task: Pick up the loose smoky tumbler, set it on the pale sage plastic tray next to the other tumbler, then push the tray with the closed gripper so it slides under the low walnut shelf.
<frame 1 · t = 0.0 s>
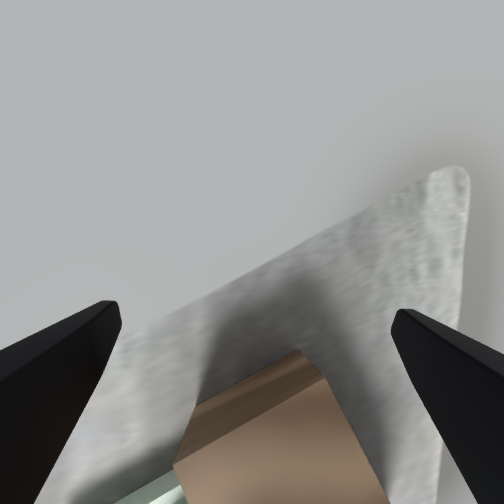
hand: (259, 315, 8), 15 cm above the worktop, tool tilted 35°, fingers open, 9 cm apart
shelf: (288, 461, 21), on the worktop
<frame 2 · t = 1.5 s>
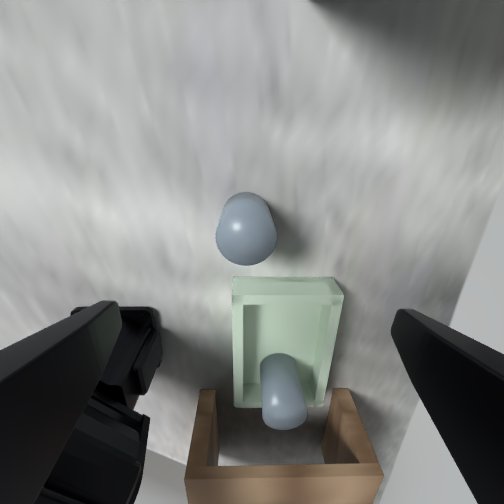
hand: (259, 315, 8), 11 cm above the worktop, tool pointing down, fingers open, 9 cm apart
tray: (278, 335, 23), on the worktop, touching tumbler a
tumbler a: (278, 366, 23), point 1 cm above the worktop, touching tray
shelf: (272, 420, 27), on the worktop
tumbler b: (246, 216, 18), on the worktop
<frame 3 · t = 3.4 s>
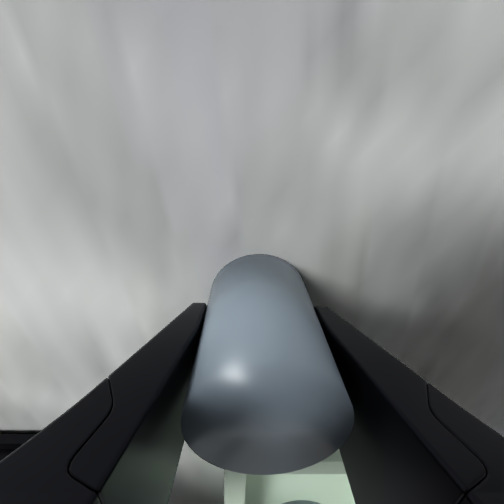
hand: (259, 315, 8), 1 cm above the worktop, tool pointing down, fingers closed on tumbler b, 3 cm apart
tray: (301, 468, 14), on the worktop, touching tumbler a
tumbler b: (258, 297, 9), on the worktop, touching gripper
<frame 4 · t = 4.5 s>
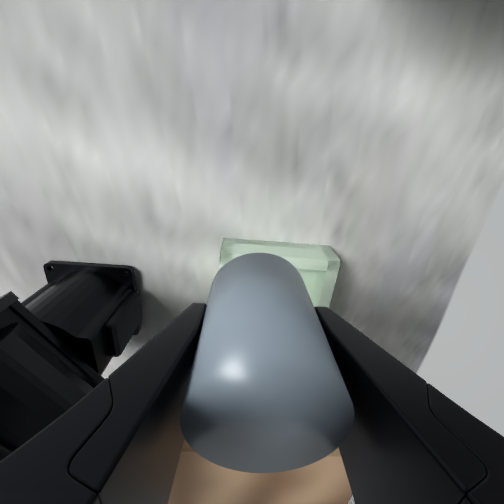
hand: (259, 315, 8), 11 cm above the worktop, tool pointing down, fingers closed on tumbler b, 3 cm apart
tray: (268, 307, 21), on the worktop, touching tumbler a
shelf: (255, 401, 26), on the worktop
tumbler b: (258, 295, 9), point 10 cm above the worktop, touching gripper
when the fingers open (3 cm above the worktop, at t = 6.0 s): tumbler b drops 2 cm, resting on tray.
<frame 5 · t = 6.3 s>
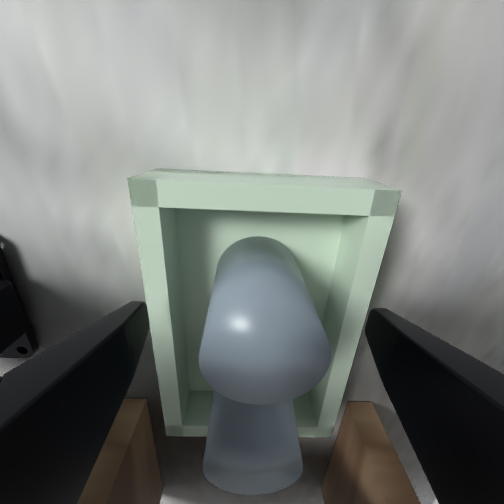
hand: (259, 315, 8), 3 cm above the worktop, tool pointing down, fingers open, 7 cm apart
tray: (254, 302, 12), on the worktop, touching tumbler a, tumbler b
tumbler a: (251, 361, 13), point 1 cm above the worktop, touching tray
shelf: (245, 449, 17), on the worktop
tumbler b: (257, 274, 11), point 1 cm above the worktop, touching tray
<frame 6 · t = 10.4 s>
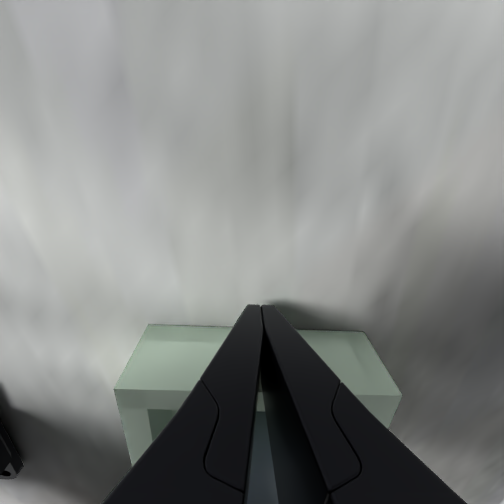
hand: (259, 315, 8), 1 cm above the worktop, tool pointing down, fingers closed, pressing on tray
tray: (249, 429, 12), on the worktop, touching gripper, tumbler a, tumbler b
tumbler b: (251, 419, 10), point 1 cm above the worktop, touching tray
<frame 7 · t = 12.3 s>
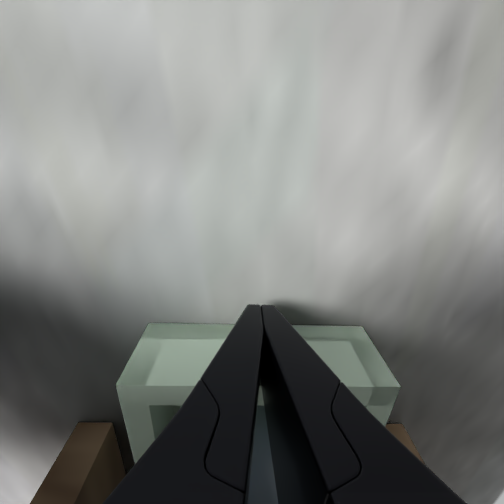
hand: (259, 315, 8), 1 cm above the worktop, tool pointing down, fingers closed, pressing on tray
tray: (250, 427, 12), on the worktop, touching gripper, tumbler a, tumbler b
shelf: (241, 482, 14), on the worktop
tumbler b: (252, 415, 10), point 1 cm above the worktop, touching tray
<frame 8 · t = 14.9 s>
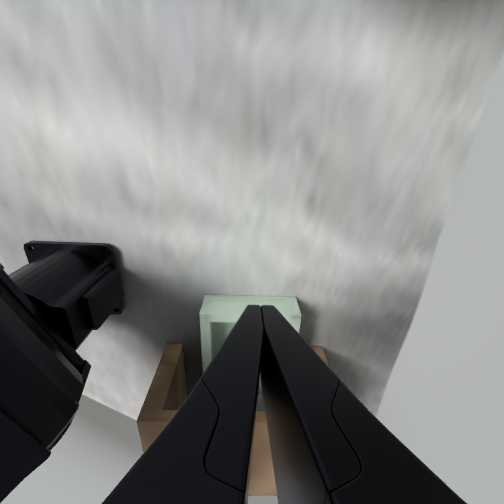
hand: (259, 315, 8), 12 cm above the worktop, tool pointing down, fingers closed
tray: (248, 347, 25), on the worktop, touching tumbler a, tumbler b
shelf: (243, 381, 26), on the worktop
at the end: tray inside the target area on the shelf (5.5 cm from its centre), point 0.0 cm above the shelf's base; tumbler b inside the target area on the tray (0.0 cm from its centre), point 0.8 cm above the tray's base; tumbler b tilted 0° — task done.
